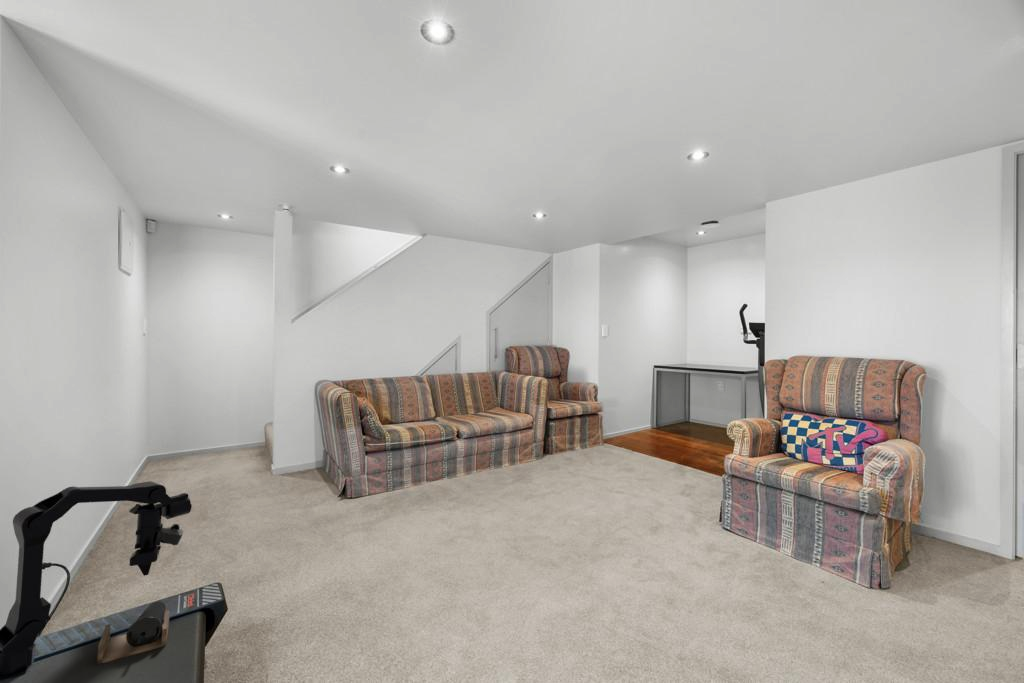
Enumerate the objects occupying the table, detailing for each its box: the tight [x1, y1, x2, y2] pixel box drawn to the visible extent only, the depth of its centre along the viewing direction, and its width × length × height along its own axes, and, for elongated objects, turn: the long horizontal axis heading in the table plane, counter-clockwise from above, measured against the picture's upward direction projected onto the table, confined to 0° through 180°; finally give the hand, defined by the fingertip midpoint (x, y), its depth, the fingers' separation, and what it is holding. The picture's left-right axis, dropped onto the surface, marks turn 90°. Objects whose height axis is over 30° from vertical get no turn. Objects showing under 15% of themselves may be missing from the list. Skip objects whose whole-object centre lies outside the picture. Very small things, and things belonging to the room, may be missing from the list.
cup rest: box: [96, 609, 171, 665], centre depth 120 cm, size 14×10×5 cm
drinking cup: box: [126, 601, 167, 647], centre depth 122 cm, size 8×8×20 cm
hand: (146, 574), depth 133 cm, fingers closed
